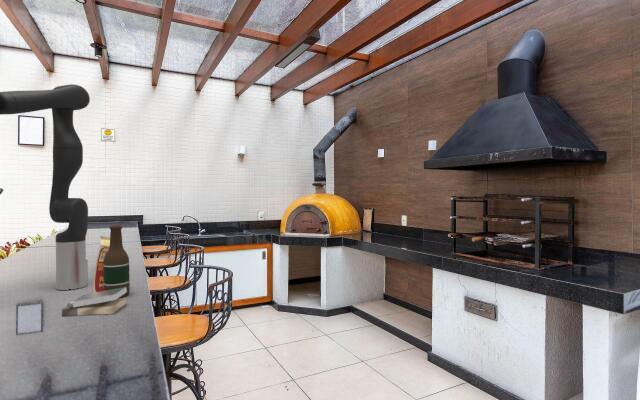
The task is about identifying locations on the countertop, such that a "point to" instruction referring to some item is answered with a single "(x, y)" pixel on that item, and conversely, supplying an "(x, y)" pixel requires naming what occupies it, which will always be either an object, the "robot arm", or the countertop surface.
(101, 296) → the slab
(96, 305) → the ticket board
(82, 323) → the countertop surface
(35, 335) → the countertop surface
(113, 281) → the beer bottle
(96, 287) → the milk carton
